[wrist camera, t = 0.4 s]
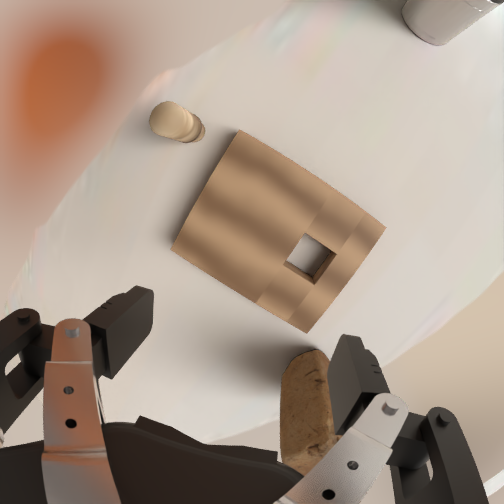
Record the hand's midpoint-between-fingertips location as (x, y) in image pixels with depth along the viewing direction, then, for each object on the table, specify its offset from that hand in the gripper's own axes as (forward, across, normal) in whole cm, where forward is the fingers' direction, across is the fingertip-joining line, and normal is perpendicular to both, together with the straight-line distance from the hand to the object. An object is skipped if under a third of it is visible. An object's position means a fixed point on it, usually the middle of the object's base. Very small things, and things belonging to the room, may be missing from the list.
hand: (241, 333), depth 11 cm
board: (+27, -1, +1) cm, 27 cm away
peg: (+27, +13, -10) cm, 32 cm away
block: (+27, -12, +23) cm, 37 cm away
